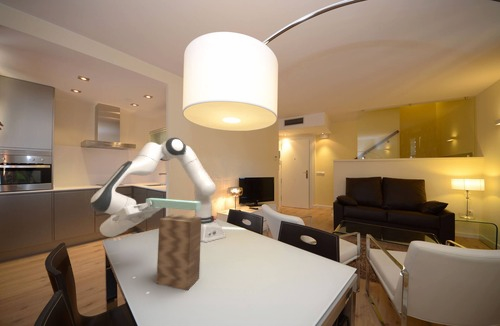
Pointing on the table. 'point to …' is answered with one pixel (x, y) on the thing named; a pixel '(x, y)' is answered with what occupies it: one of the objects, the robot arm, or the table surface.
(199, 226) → the walnut stand
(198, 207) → the mint green bar
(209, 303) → the table surface
